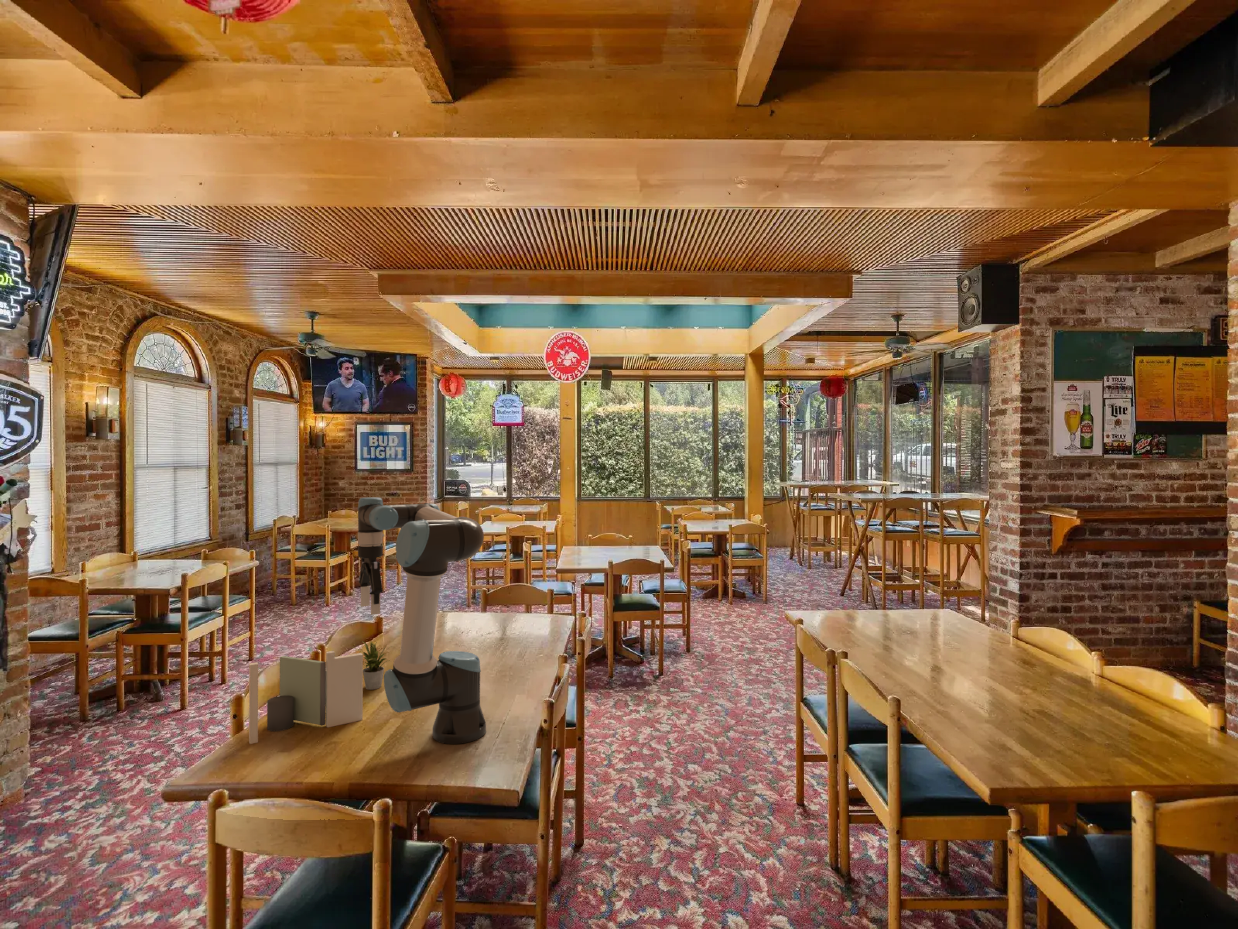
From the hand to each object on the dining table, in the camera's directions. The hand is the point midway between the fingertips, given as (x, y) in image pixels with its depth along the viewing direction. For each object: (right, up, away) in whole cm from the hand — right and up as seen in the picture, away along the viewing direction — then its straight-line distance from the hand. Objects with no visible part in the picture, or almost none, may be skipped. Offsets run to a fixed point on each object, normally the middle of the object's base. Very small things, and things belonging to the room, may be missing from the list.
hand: (370, 610), depth 208 cm
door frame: (-10, -31, -20) cm, 38 cm away
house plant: (-6, -31, +16) cm, 35 cm away
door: (-14, -30, -15) cm, 37 cm away
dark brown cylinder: (-20, -31, -18) cm, 41 cm away
